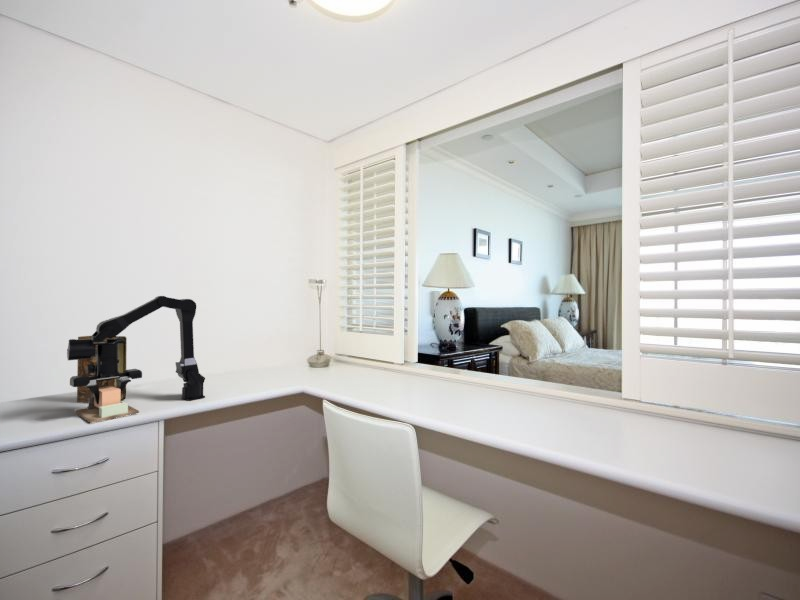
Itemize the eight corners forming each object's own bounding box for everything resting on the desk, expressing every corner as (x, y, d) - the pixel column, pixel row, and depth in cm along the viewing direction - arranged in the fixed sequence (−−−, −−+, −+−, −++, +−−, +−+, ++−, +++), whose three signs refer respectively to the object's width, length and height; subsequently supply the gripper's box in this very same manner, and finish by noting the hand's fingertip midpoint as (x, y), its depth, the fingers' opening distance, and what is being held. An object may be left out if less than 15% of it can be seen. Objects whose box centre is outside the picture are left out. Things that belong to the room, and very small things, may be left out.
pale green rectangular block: (124, 410, 123) (124, 402, 123) (127, 412, 121) (127, 403, 121) (98, 416, 118) (99, 406, 118) (101, 417, 116) (101, 408, 116)
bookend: (111, 403, 132) (112, 392, 132) (114, 405, 130) (114, 393, 130) (87, 408, 126) (87, 396, 126) (89, 409, 125) (89, 398, 125)
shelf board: (121, 404, 134) (121, 401, 134) (138, 413, 123) (138, 410, 123) (75, 412, 124) (75, 410, 124) (90, 423, 113) (90, 420, 113)
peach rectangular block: (112, 402, 128) (112, 385, 128) (120, 406, 123) (120, 389, 123) (94, 405, 124) (94, 388, 124) (102, 410, 119) (102, 392, 119)
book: (74, 402, 136) (75, 337, 137) (88, 398, 142) (88, 335, 142) (113, 404, 135) (114, 337, 135) (126, 400, 140) (126, 336, 140)
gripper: (132, 352, 136) (131, 393, 136) (65, 358, 121) (65, 404, 121) (142, 354, 129) (142, 398, 129) (74, 361, 114) (73, 410, 114)
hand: (107, 402), depth 124 cm, fingers closed on peach rectangular block, 5 cm apart
